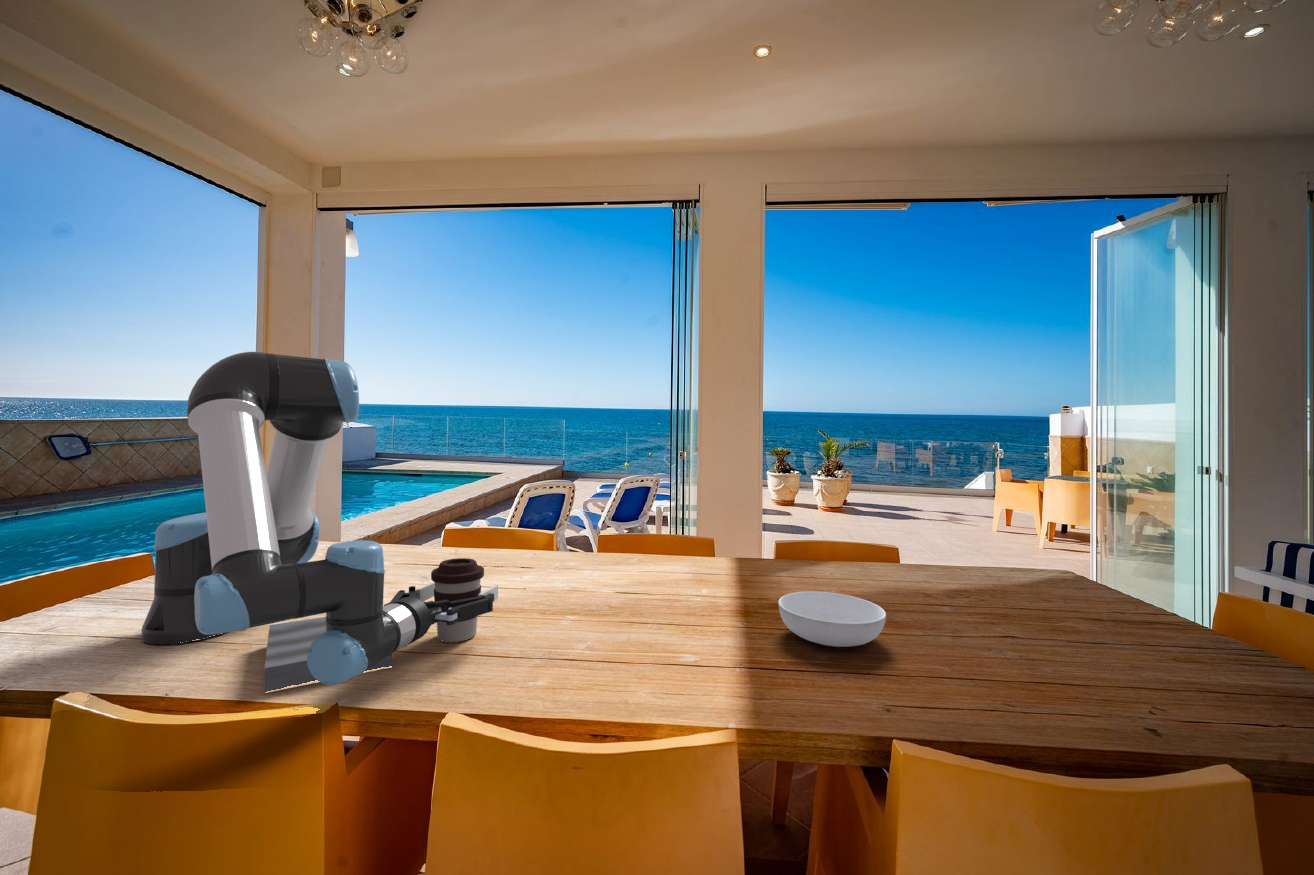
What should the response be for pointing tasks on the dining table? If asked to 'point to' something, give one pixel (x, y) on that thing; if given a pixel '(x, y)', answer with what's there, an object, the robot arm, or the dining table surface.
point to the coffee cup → (457, 594)
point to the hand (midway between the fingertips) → (466, 589)
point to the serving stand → (295, 653)
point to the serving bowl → (831, 618)
